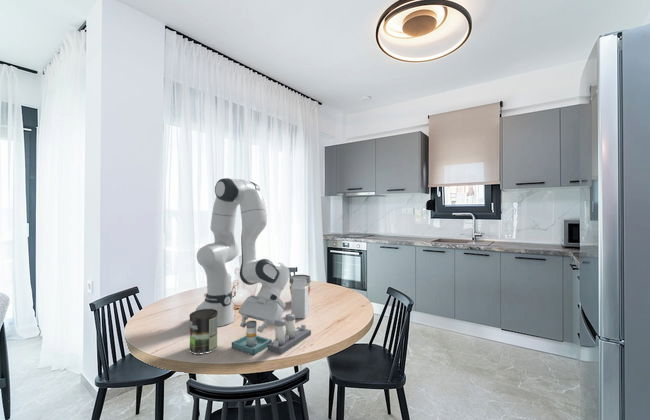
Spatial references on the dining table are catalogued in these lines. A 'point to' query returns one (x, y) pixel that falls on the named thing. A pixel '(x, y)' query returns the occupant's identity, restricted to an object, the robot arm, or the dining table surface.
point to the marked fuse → (251, 333)
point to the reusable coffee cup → (300, 278)
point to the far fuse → (280, 331)
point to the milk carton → (299, 298)
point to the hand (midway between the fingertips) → (250, 329)
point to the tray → (241, 345)
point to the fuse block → (290, 340)
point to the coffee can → (203, 330)
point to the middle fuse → (290, 325)
